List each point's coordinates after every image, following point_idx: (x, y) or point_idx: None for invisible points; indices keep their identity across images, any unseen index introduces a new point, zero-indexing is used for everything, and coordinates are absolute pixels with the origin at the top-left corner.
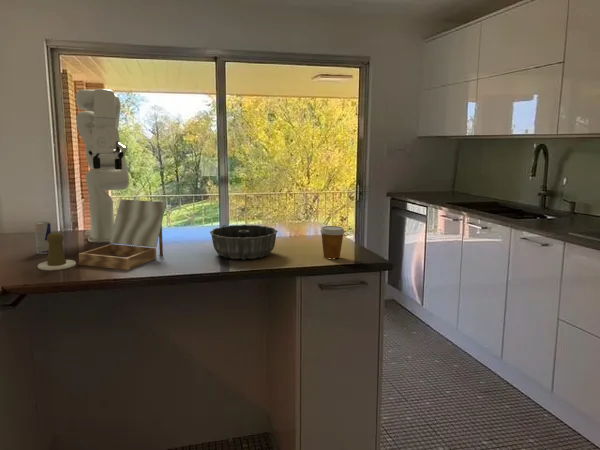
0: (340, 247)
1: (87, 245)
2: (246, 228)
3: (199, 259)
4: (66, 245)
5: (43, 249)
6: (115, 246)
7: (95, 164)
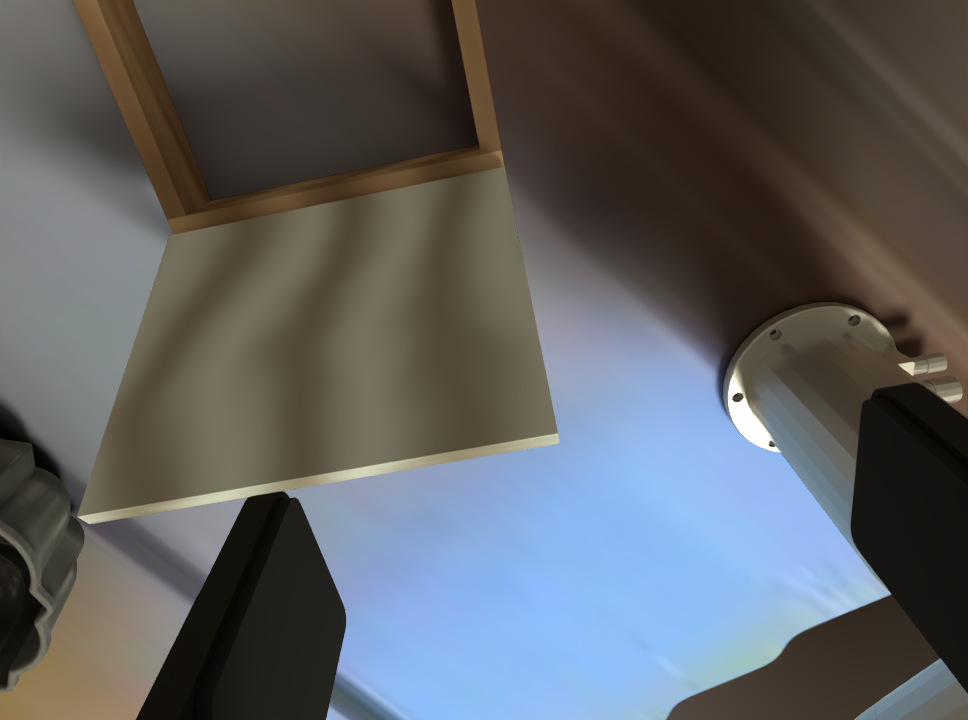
0: None
1: (795, 238)
2: (3, 671)
3: (15, 326)
4: (921, 168)
5: None
6: (449, 160)
7: (926, 466)
